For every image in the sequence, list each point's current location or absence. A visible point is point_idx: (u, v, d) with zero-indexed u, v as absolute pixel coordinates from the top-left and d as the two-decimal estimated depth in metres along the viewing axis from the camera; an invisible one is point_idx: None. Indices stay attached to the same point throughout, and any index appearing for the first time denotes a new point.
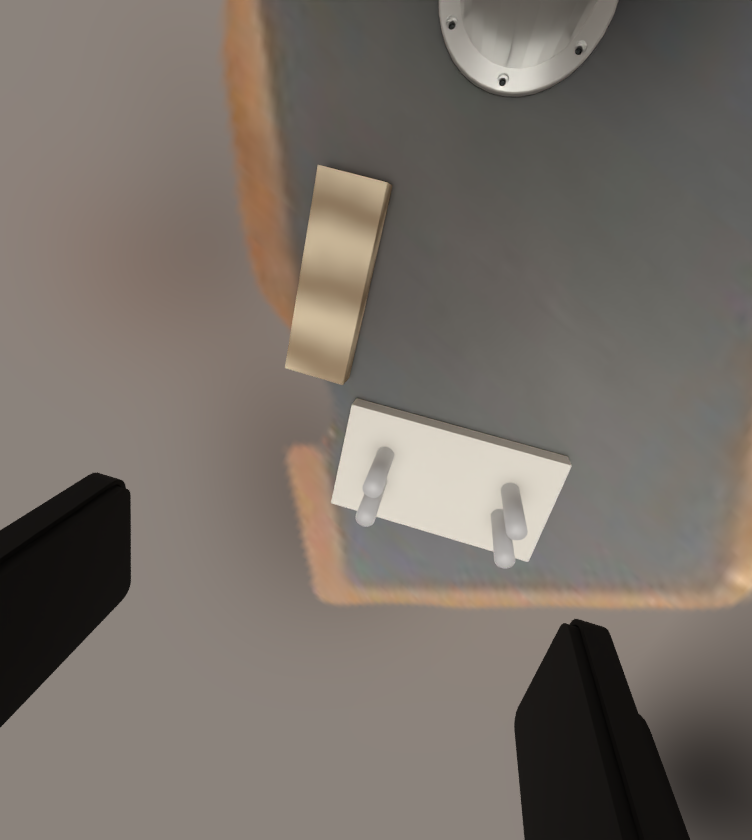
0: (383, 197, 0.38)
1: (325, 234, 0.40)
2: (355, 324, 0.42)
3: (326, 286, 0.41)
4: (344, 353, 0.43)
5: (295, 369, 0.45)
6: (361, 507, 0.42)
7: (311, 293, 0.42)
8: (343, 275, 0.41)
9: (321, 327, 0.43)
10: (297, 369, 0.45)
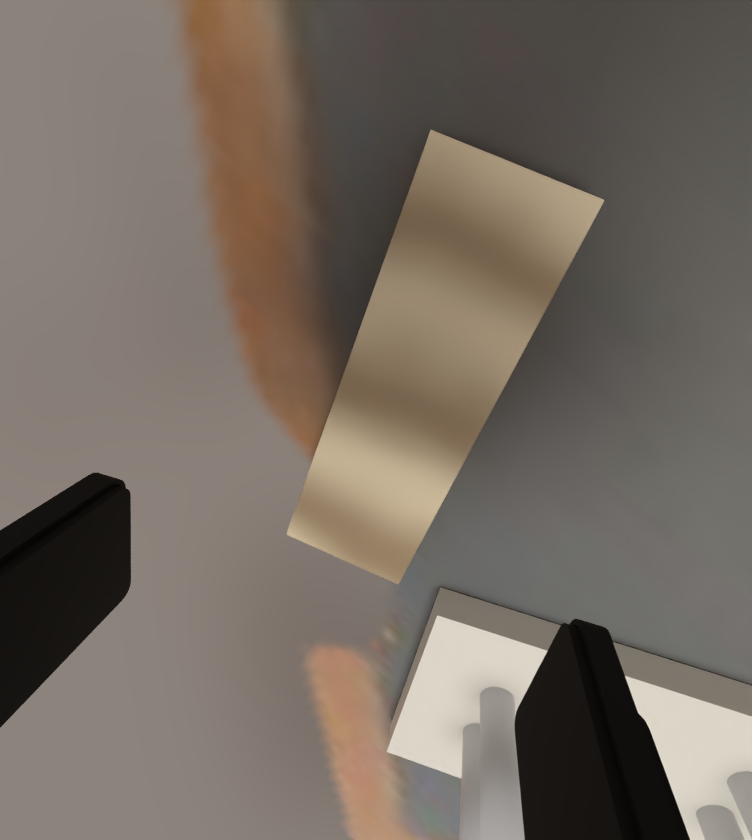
0: (583, 235, 0.15)
1: (417, 298, 0.17)
2: (447, 488, 0.20)
3: (398, 407, 0.19)
4: (413, 534, 0.21)
5: (307, 541, 0.22)
6: None
7: (363, 414, 0.19)
8: (443, 391, 0.18)
9: (373, 479, 0.20)
10: (311, 541, 0.22)
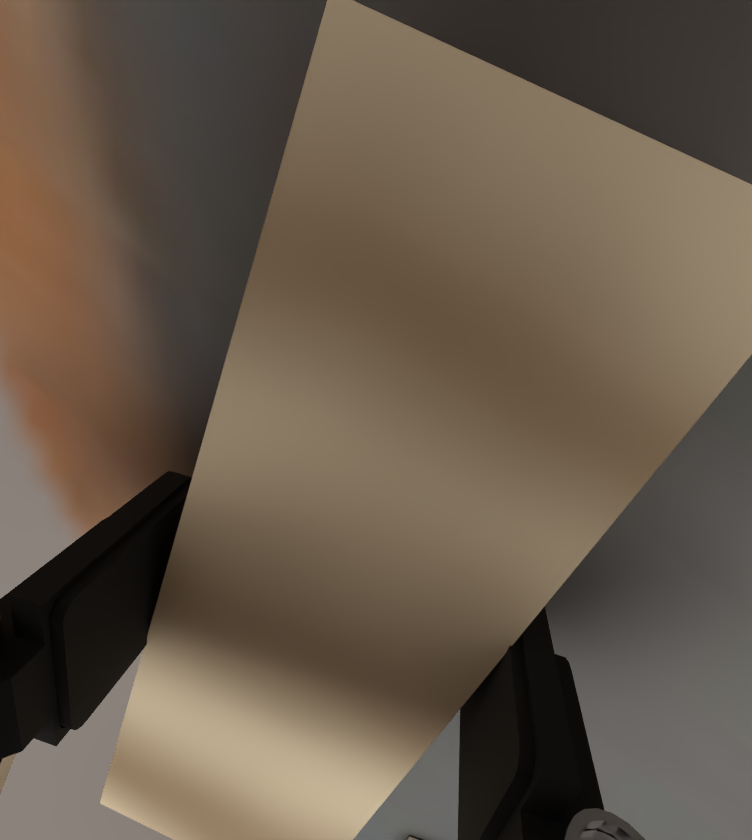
0: None
1: (313, 444, 0.07)
2: (388, 788, 0.10)
3: (283, 646, 0.09)
4: None
5: (136, 817, 0.12)
6: None
7: (212, 648, 0.09)
8: (376, 632, 0.08)
9: (244, 754, 0.10)
10: (143, 820, 0.12)
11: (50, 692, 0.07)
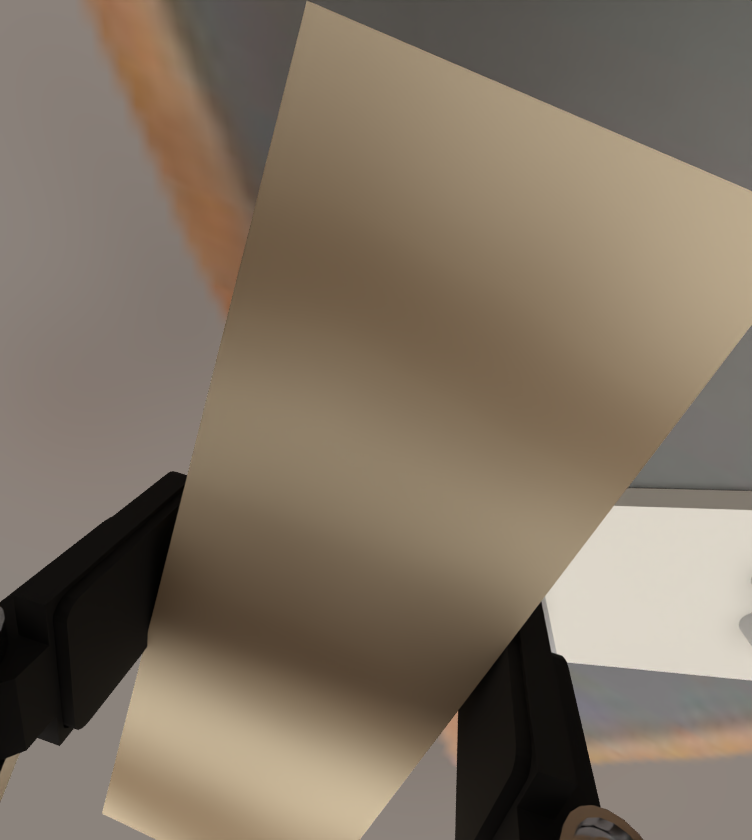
0: (744, 322, 0.05)
1: (303, 447, 0.07)
2: (389, 793, 0.10)
3: (280, 651, 0.09)
4: None
5: (139, 827, 0.12)
6: None
7: (210, 654, 0.09)
8: (372, 635, 0.08)
9: (244, 760, 0.10)
10: (146, 830, 0.12)
11: (53, 692, 0.07)
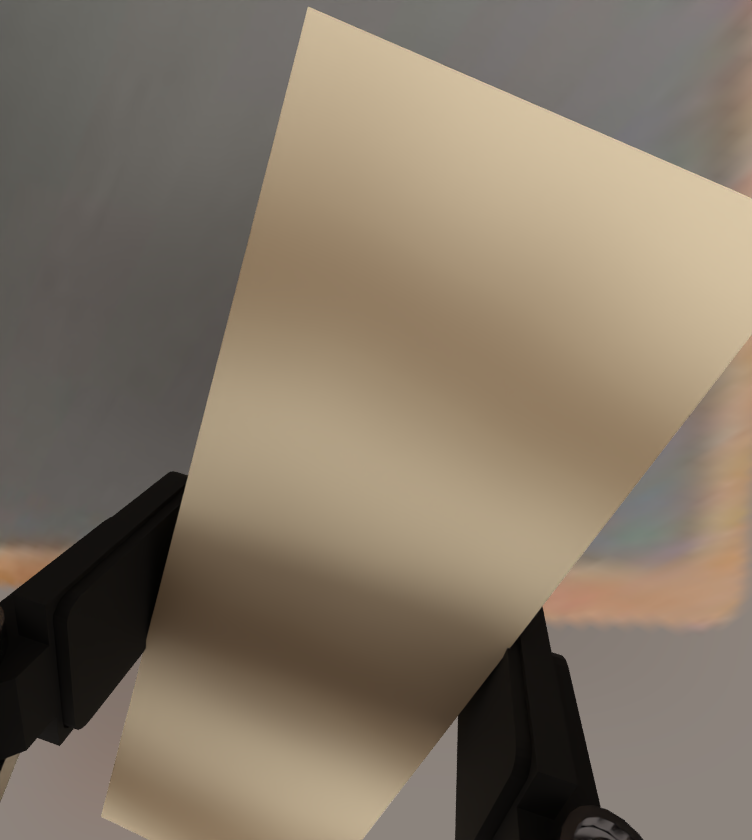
0: (746, 329, 0.05)
1: (304, 452, 0.07)
2: (389, 797, 0.10)
3: (280, 656, 0.09)
4: None
5: (138, 830, 0.12)
6: None
7: (210, 658, 0.09)
8: (372, 639, 0.08)
9: (244, 764, 0.10)
10: (145, 833, 0.12)
11: (53, 693, 0.07)
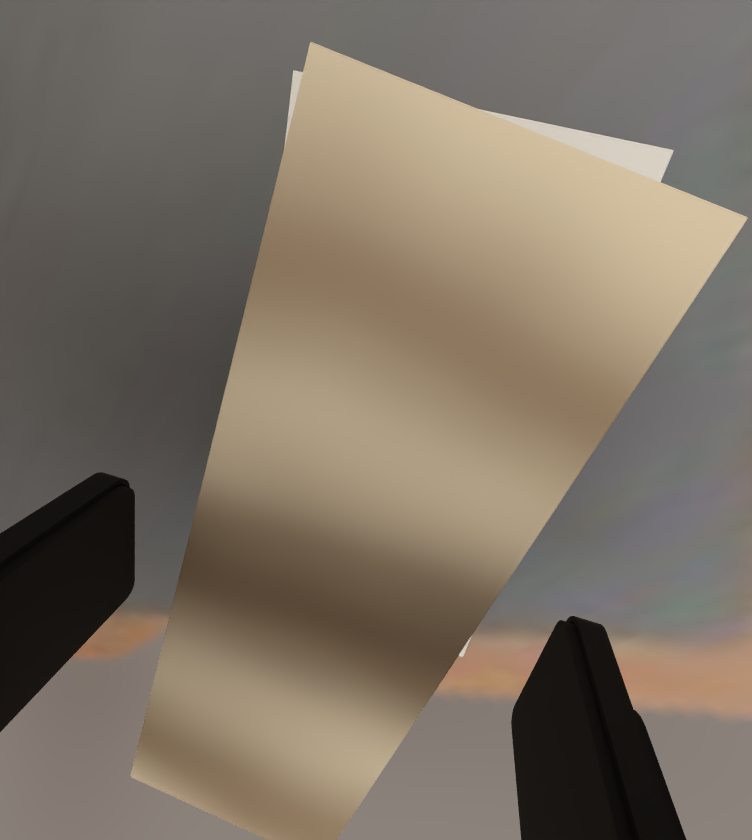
0: (685, 301, 0.06)
1: (313, 422, 0.08)
2: (395, 743, 0.11)
3: (294, 611, 0.10)
4: (339, 802, 0.12)
5: (165, 789, 0.13)
6: None
7: (230, 616, 0.10)
8: (376, 591, 0.09)
9: (262, 717, 0.11)
10: (171, 791, 0.13)
11: None
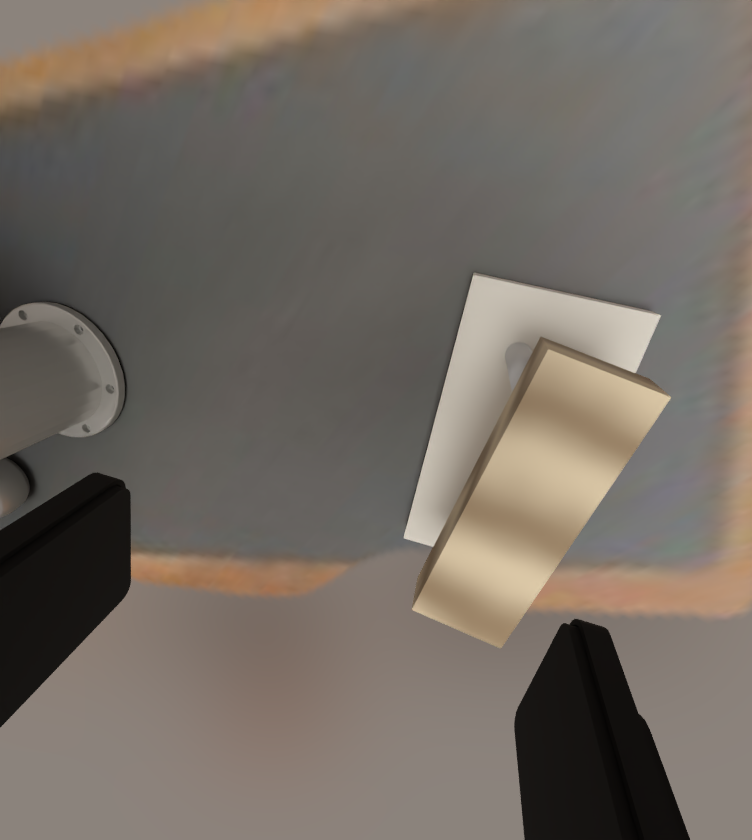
0: (655, 417, 0.22)
1: (531, 451, 0.23)
2: (545, 579, 0.26)
3: (511, 522, 0.25)
4: (516, 612, 0.27)
5: (428, 614, 0.29)
6: None
7: (482, 526, 0.26)
8: (546, 512, 0.25)
9: (487, 571, 0.27)
10: (431, 615, 0.29)
11: None
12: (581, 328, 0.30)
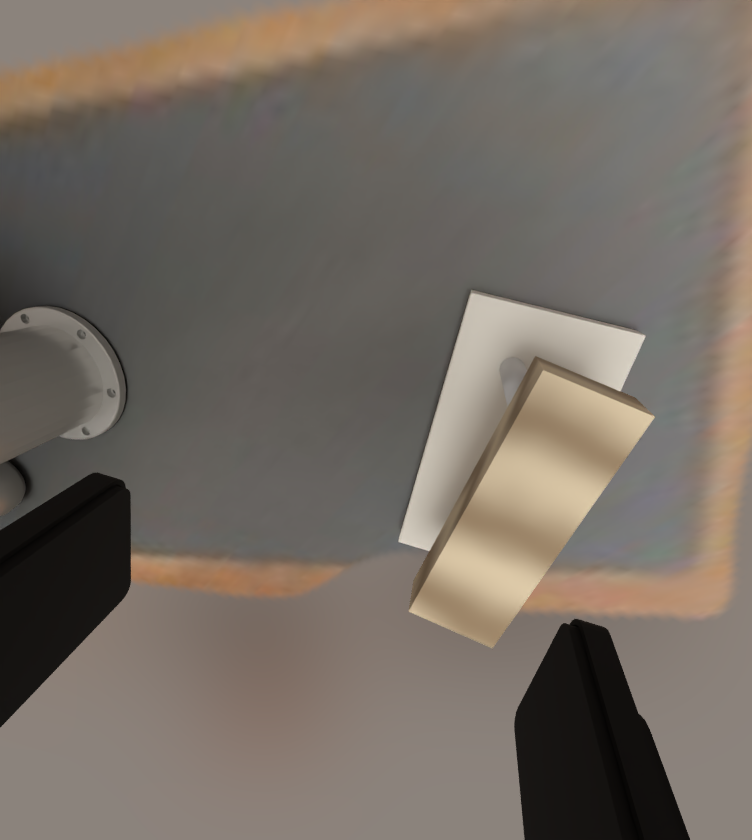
0: (640, 435, 0.23)
1: (525, 464, 0.25)
2: (536, 583, 0.28)
3: (505, 529, 0.27)
4: (507, 613, 0.29)
5: (424, 616, 0.30)
6: None
7: (478, 532, 0.27)
8: (538, 521, 0.26)
9: (481, 576, 0.28)
10: (427, 616, 0.30)
11: None
12: (571, 345, 0.32)
